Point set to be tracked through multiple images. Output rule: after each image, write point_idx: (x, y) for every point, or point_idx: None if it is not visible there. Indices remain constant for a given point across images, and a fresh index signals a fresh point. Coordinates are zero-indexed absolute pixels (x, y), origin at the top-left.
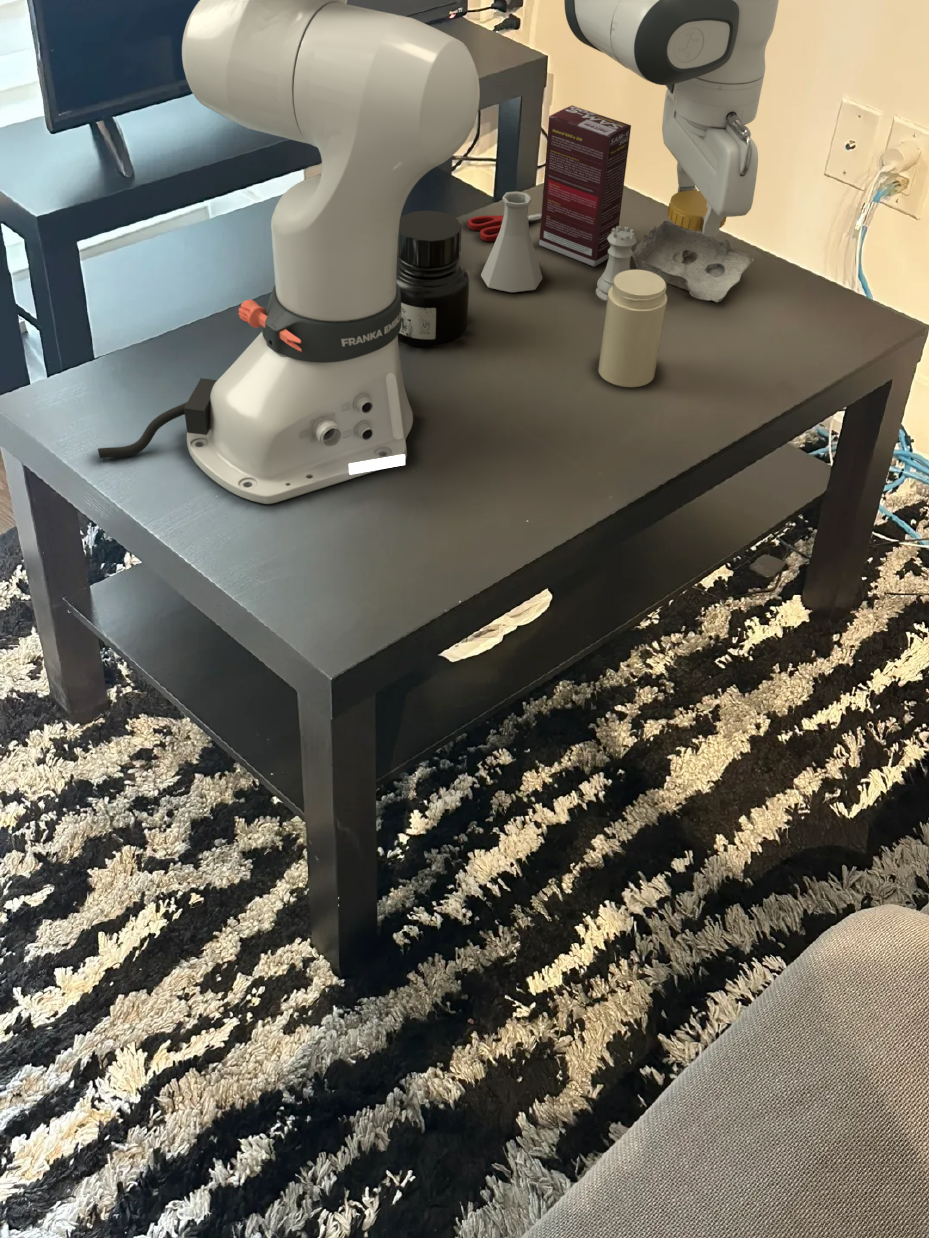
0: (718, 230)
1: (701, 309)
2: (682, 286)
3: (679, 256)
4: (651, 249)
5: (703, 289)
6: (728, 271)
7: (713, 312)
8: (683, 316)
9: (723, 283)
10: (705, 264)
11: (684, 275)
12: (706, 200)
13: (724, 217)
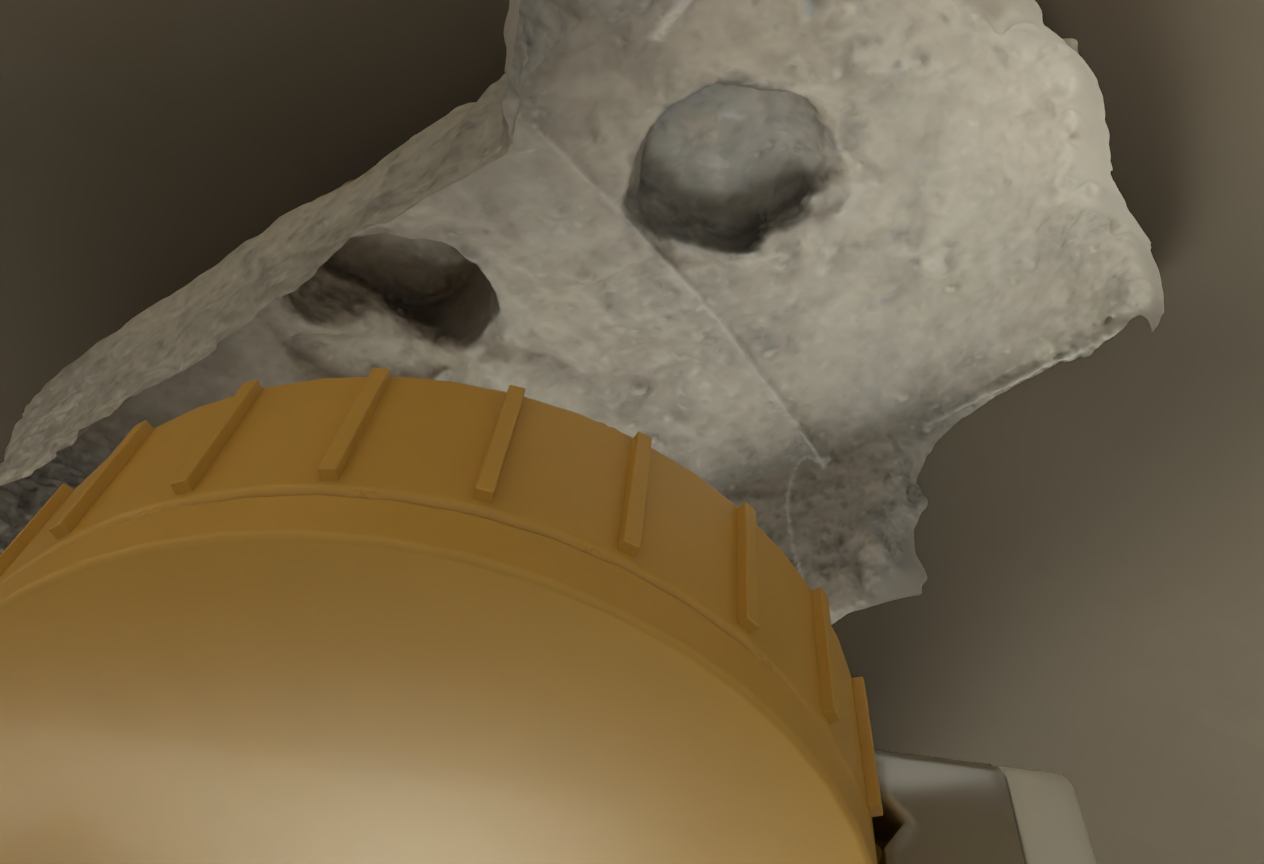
0: (1075, 826)
1: (1132, 453)
2: (806, 495)
3: (333, 337)
4: None
5: (909, 349)
6: (847, 82)
7: (1228, 388)
8: (1152, 610)
9: (968, 187)
10: (605, 233)
11: (633, 400)
12: (273, 816)
13: (780, 648)
